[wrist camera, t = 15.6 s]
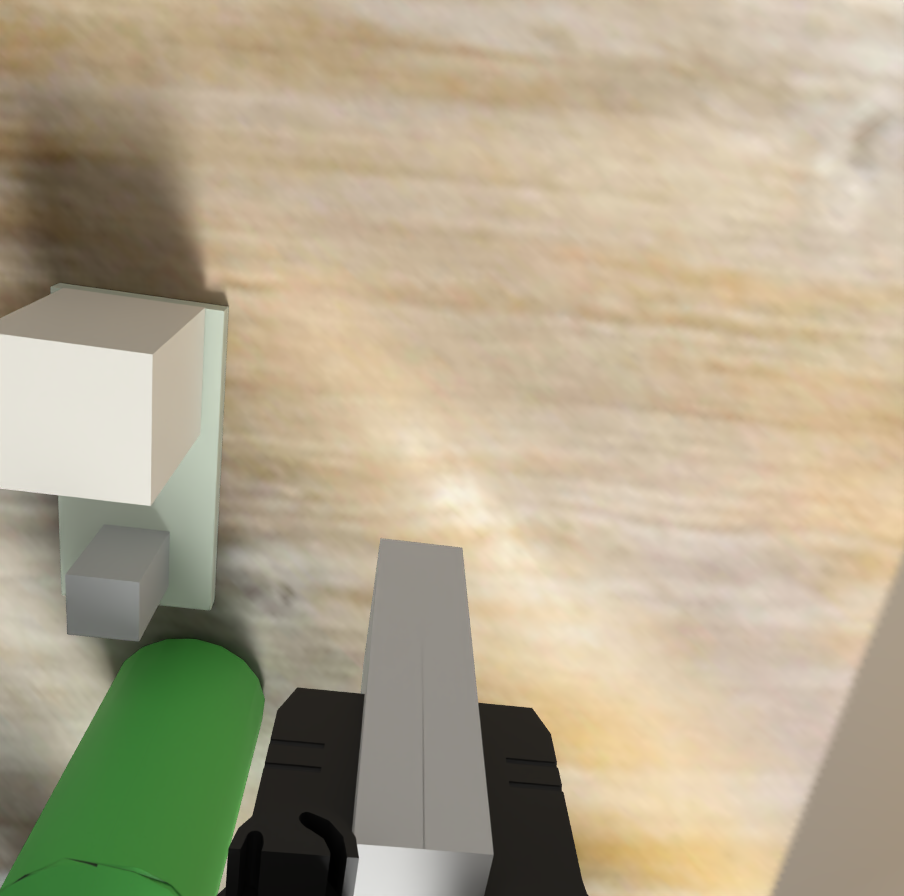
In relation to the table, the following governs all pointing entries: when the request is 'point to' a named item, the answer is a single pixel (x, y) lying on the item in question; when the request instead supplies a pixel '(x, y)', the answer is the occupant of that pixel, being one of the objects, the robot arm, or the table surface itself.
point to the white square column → (99, 394)
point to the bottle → (150, 781)
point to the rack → (150, 522)
